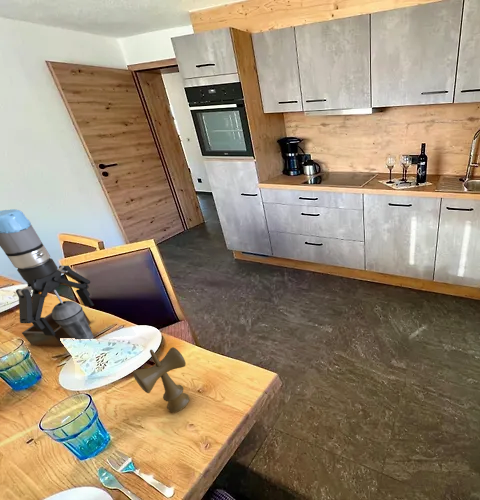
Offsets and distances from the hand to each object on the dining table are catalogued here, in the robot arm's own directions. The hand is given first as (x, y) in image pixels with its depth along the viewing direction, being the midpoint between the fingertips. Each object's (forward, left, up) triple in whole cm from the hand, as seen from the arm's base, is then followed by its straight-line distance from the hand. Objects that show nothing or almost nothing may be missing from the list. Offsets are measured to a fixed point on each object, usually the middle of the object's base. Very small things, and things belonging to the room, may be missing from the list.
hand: (71, 319), depth 93 cm
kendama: (+47, -21, -9) cm, 52 cm away
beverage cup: (0, 0, -9) cm, 9 cm away
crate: (-11, +2, -9) cm, 14 cm away
